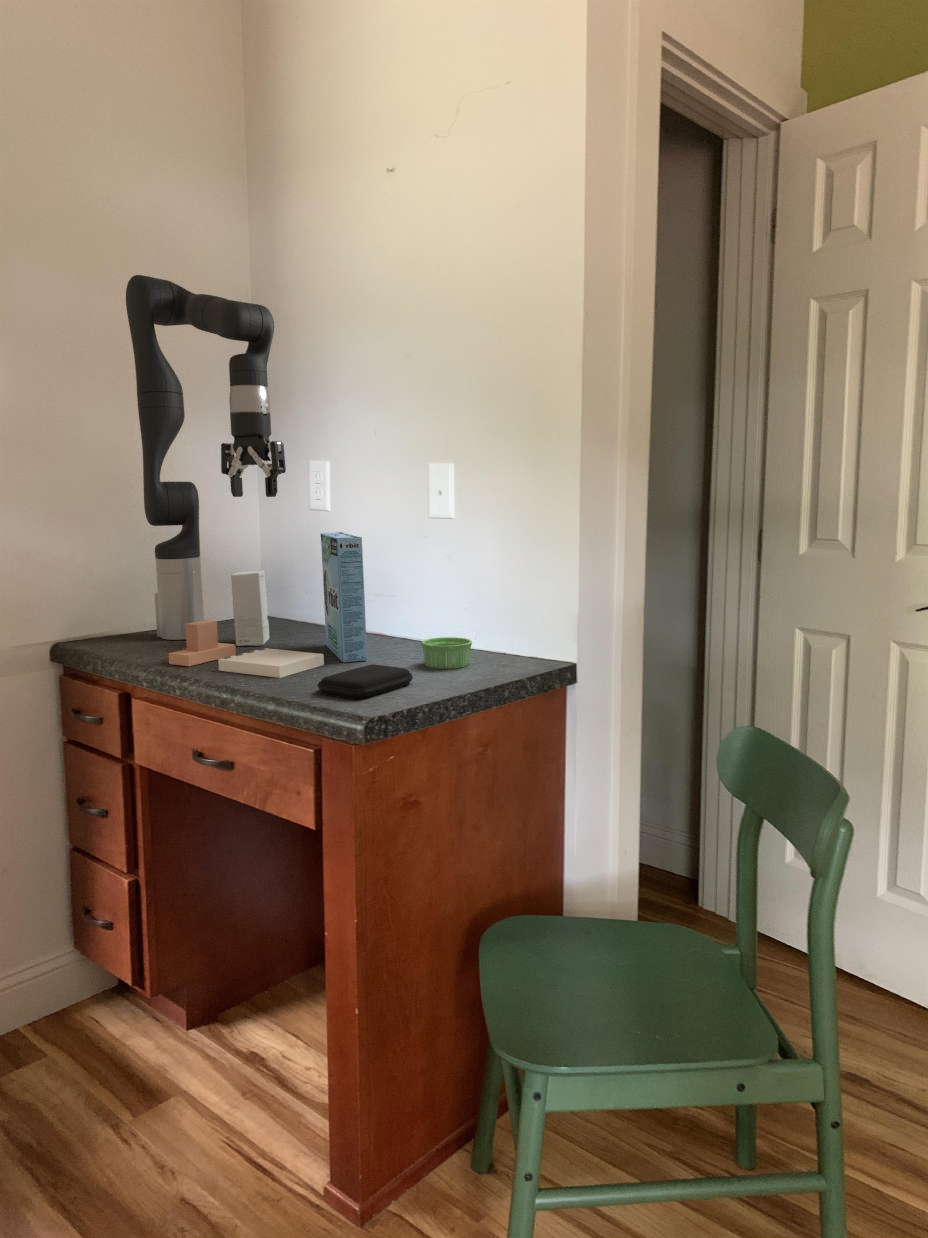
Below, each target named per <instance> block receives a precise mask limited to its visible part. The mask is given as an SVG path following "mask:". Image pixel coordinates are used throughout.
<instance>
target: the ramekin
mask: <svg viewBox="0 0 928 1238" xmlns="http://www.w3.org/2000/svg"><path fill="white" fill-rule="evenodd" d="M472 644H473V642H472V640H471V639H469V638H466V637H457V636H456V637H455V636H451V637H450V636H446V637H444V636H442V637H433V638H426V639H423V640H422V641H421V645H422V650H423V659H424V665H425V666H426V667H427V668H431V669H435V670H436V669H437V670H452V669H453V670H454V669H456V670H457V669H461V668H466V667H468V666H469V665H470V661H471V647H472Z"/></svg>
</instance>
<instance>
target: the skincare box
mask: <svg viewBox="0 0 928 1238" xmlns="http://www.w3.org/2000/svg"><path fill="white" fill-rule="evenodd" d="M230 578H231V579H230V580H231V591H232V607H233V619H234V623H233V624H234V633H235V646H237V647H239V646H240V647H243V646H250V647H251V646H258V647H259V646H264V645H265V643H267V642H268V641H269V640H270V625H269V613H268V599H267V597H268V596H267V588H266V587H267V586H266V571H265V570H253V571H252V570H251V571H250V570H249V571H247V570H246V571H238V572H234V573H233V574H231V575H230Z"/></svg>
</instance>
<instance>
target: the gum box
mask: <svg viewBox="0 0 928 1238" xmlns="http://www.w3.org/2000/svg"><path fill="white" fill-rule="evenodd" d="M320 542H321V543H320V545H321V562H322V563H321V565H322V583H323V584H322V585H323V588H322V589H323V604H324V625H325V626H324V627H325V645H326V647H327V648H329V650H330V651H331V652H332V653H333V654H334V655H335V656H336V657H337V658H338V659H339V660H340V661H341V663H349V662H350V663H352V662H364V661H368V647H367V644H368V643H367V628H366V627H367V626H366V624H367V623H366V605H365V604H366V600H365V599H366V597H365V579H364V578H365V577H364V559H363V558H364V555H363V553H364V552H363V537H361V536H357V535H354V534H350V533H344V532H342V531H340V532H338V531H337V532H321V533H320Z"/></svg>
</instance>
